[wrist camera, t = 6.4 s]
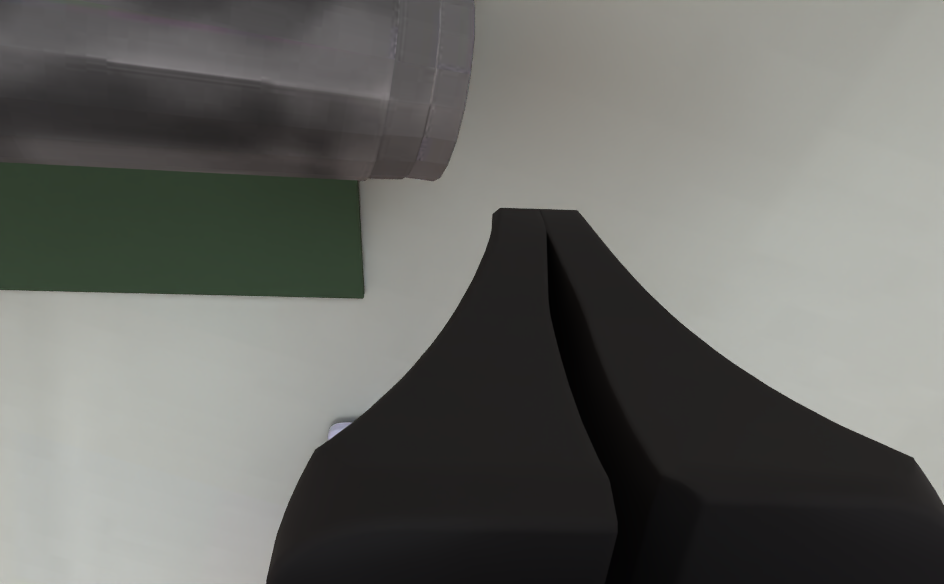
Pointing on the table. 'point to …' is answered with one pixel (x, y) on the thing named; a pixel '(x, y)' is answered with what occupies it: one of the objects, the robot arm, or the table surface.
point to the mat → (178, 232)
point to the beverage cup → (236, 85)
